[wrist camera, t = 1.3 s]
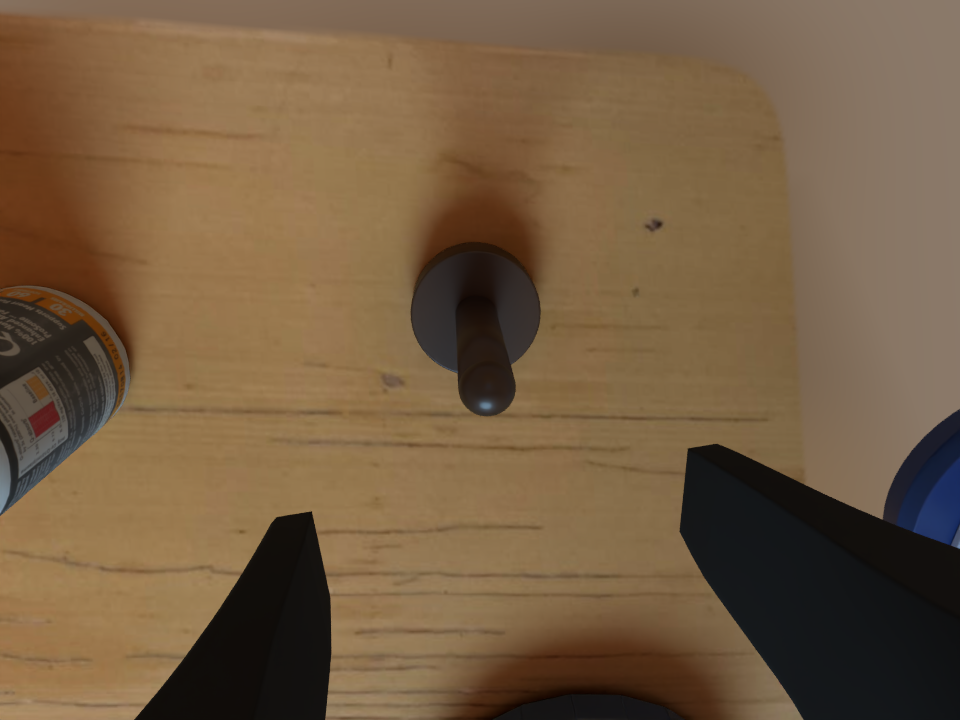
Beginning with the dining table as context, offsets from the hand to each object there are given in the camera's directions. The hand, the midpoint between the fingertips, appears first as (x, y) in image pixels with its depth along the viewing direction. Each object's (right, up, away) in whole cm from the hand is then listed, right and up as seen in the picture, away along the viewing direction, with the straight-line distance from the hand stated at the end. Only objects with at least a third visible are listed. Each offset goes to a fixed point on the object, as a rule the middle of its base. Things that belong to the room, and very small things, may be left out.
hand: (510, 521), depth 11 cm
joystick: (-1, +5, +11) cm, 12 cm away
